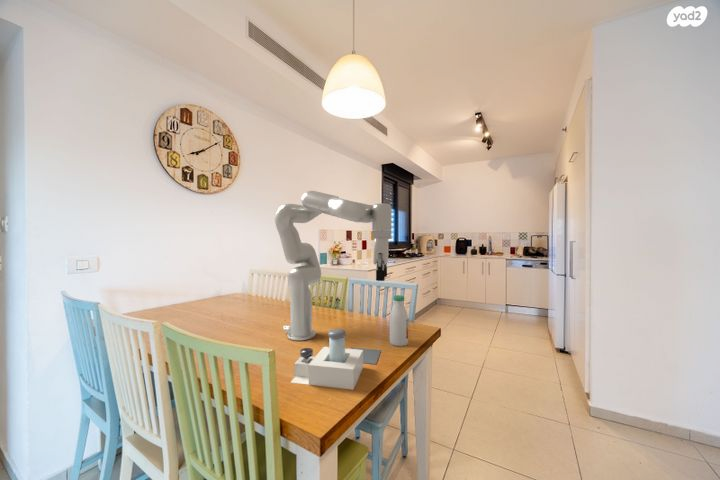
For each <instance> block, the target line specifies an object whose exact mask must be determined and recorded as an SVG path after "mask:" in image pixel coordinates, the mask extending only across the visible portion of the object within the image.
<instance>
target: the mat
mask: <svg viewBox="0 0 720 480" xmlns="http://www.w3.org/2000/svg"><path fill="white" fill-rule="evenodd" d="M349 349H357V350H363V365H364V364H366V365H374V366H375V365H377V363H378V360H379V357H380V354H381V353H382V349H377V348H375V349H373V348H365V347H364V348H362V347H361V348H360V347H350V348H349Z"/></svg>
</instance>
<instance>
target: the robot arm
mask: <svg viewBox="0 0 720 480" xmlns="http://www.w3.org/2000/svg"><path fill="white" fill-rule="evenodd" d="M300 201H301V204H298V203H297V204H296V203H285V204H282V205H281V206H279V207H278V208H277V211H276V213H275V214H274V215H275V217H274V223H275V227H276V230H277V232H278V235H279V238H280V242H281V246H282V250H283V253H284V258H285V260H286V262H287V263H289V264H290V265H298V264H300V266H296V267H293V268H292V269H291V270H290V271H289V272H288V274H287V284H288V288H289V302H290V303H289V304H290V305H289V308H290V313H289V314H290V316H289V318H290V325H288V324H287V325H286V324H284V325H283V327H282V331H284V332H287V334H286V337H287V339H289V340H290V341H296V342H297V341H298V342H299V341H307V340H310V339H313V338H314V337H316V331H315V330H314V329H313V313H312V312H313V309H312V307H313V304H312V303H313V301H312V293H311V289H310V286H312V285H315V284H317V283H318V282H319V281H320V280H321V279H322V278H321V277H322V271H321V266H320V263H319V259H318V255H317V253H316V250H315V248H314V247H313V245H312V244H310V243H308V242H302V240H301V238H300V233H299V231H298V230H297V228H296V226H295V225H294V224H307V223H308V222H310V221H312V220H314V219H315V218H317V217H318V216H319V215H321V214H325V215H328V216H331V217H336V218H338V219H343V220H347V221H349V222H354V223H362V224H363V223H364V224H366V223H367V224H368V223H371V224H372V225H371V226H372V227H371V228H372V229H371V230H372V232H371V233H372V234H371V236H372V237H371V239H372V240H374V244H373V262H372V263H373V265H376V269H375V281H377V282H381V281H382V282H384V281H386V280H385V278H387V277H388V267H387V266H388V265H387V264H388V262H389V261H388V260H389V240H391V239H392V212H393V211H392V205H391V204H389V203H382V202H381V203H375V204H368V203H362V202H357V201H353V200H349V199H344V198H341V197H339V196H337V195H333V194H329V193H325V192H321V191H317V190H307V191H305V192H303V194H302V196H301V200H300Z"/></svg>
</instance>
